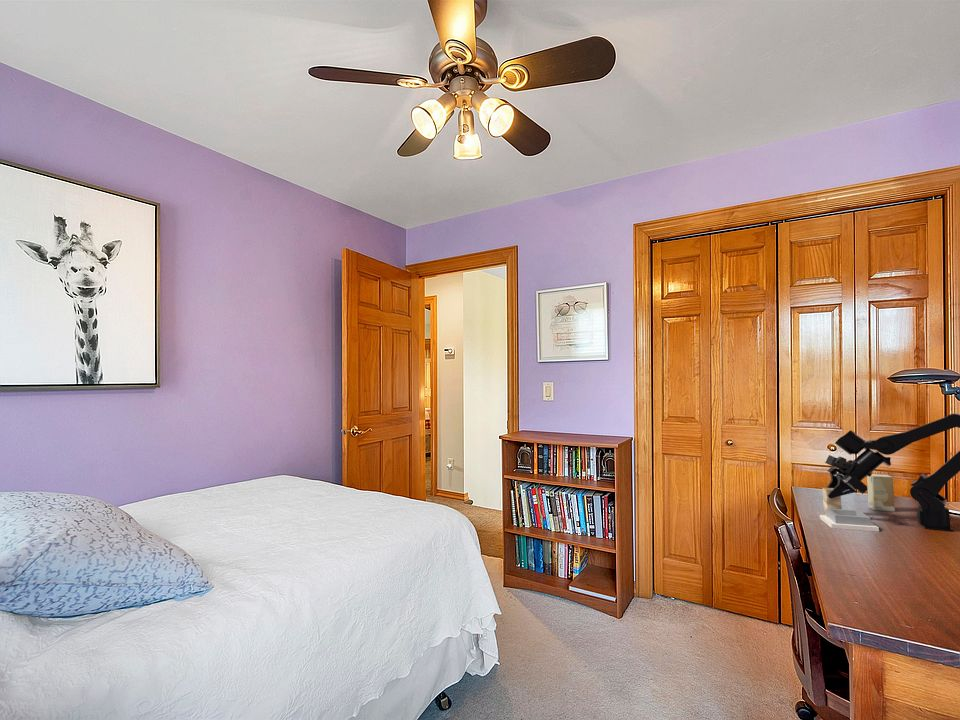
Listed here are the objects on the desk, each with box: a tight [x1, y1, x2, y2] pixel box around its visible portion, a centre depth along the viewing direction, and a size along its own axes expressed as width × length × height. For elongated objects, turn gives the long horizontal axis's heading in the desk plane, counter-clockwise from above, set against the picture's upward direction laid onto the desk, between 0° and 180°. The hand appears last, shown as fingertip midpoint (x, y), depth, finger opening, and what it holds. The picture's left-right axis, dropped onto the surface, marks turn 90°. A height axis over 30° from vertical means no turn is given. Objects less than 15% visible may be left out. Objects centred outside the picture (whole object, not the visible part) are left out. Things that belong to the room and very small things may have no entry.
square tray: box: [819, 508, 880, 532], centre depth 148 cm, size 12×12×4 cm
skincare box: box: [866, 473, 896, 512], centre depth 165 cm, size 6×4×12 cm
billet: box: [822, 487, 843, 515], centre depth 159 cm, size 4×4×9 cm
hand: (826, 495), depth 159 cm, fingers closed on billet, 4 cm apart
